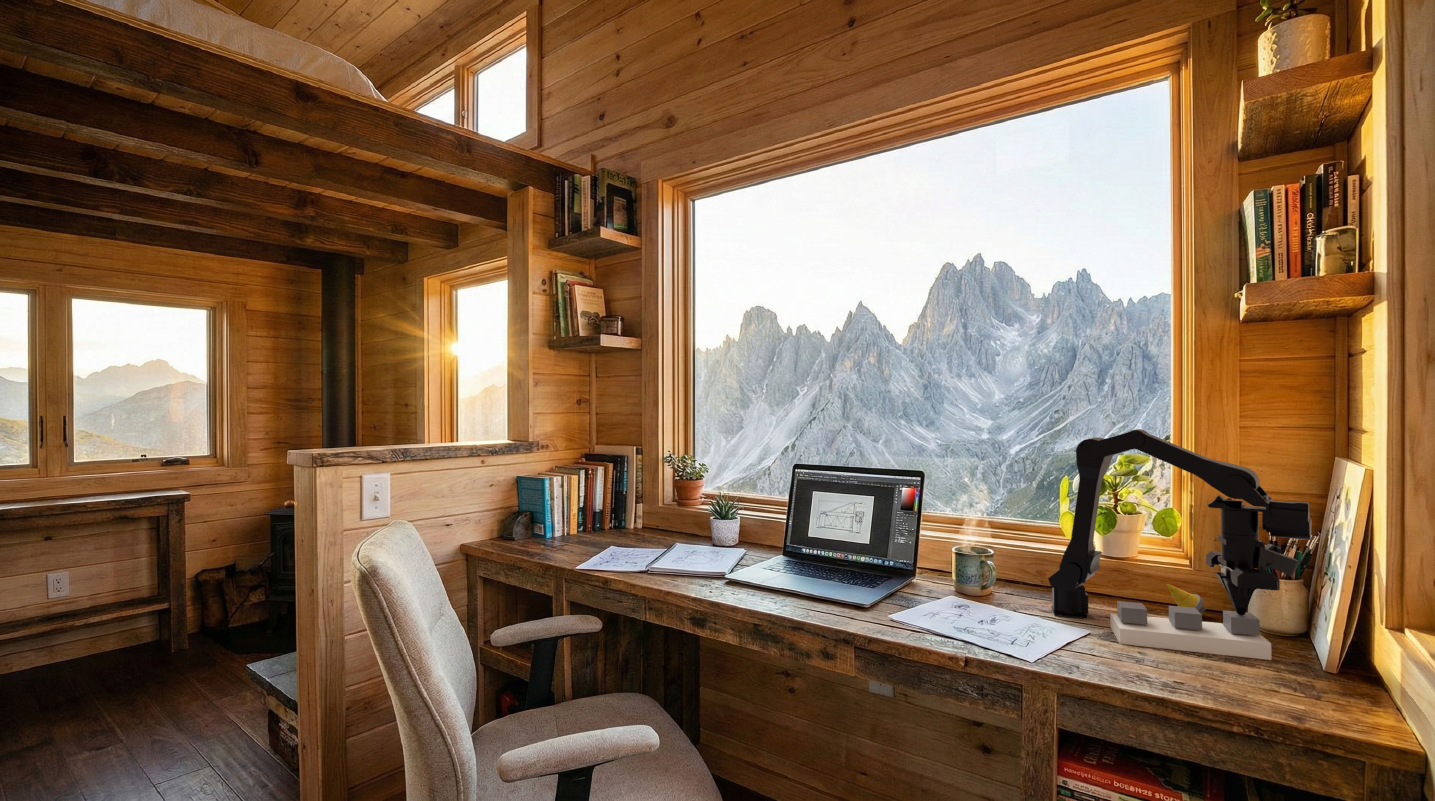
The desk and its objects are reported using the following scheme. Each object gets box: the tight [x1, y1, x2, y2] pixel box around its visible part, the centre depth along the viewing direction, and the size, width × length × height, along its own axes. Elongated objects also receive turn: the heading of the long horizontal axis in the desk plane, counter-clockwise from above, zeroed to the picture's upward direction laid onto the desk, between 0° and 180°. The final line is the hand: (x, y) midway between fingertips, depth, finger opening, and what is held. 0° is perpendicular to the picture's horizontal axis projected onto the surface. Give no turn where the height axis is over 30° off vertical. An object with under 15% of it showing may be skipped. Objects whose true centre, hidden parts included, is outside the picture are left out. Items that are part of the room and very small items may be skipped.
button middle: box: [1168, 605, 1203, 630], centre depth 130 cm, size 4×4×6 cm
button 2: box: [1222, 610, 1261, 636], centre depth 126 cm, size 4×4×6 cm
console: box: [1109, 612, 1272, 661], centre depth 130 cm, size 24×10×3 cm, turn 68°
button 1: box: [1116, 600, 1148, 625], centre depth 133 cm, size 4×4×6 cm
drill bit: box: [1165, 583, 1207, 617], centre depth 146 cm, size 5×5×10 cm
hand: (1240, 614), depth 126 cm, fingers closed
